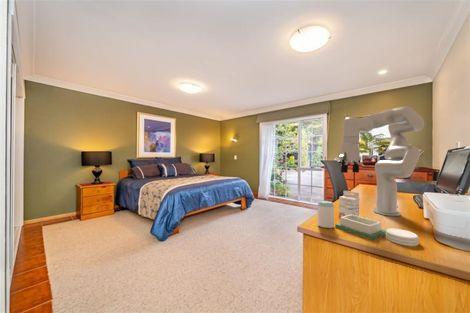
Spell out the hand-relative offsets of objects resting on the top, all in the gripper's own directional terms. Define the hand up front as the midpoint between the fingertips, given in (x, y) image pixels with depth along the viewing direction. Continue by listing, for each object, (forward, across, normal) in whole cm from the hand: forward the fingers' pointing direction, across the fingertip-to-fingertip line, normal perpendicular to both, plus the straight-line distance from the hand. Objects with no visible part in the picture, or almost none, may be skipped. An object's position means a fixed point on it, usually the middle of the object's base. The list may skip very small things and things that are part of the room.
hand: (350, 172), depth 104 cm
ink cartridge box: (+26, -1, 0) cm, 26 cm away
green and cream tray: (+26, +11, +12) cm, 30 cm away
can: (+26, +20, +2) cm, 33 cm away
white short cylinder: (+26, +6, +26) cm, 37 cm away
